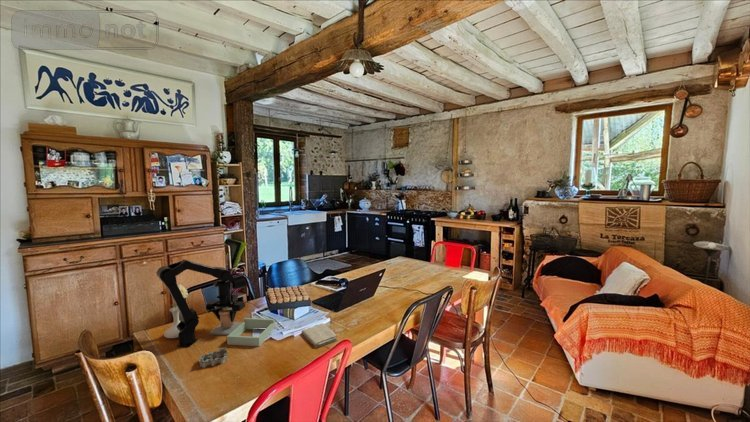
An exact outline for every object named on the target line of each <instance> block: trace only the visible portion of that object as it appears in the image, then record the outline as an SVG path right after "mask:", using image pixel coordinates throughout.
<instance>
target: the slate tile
mask: <svg viewBox="0 0 750 422" xmlns="http://www.w3.org/2000/svg"><path fill="white" fill-rule="evenodd" d="M233 322H234V324H233V325H232V326H230V327H227V328H222V327H221V323H220V324H219V325H217V326H216V327H214V328H213V329H212V330H211V331H209V335H211V336H212V335H214V336H215V335H216V336H228V335H229V334H230V333H232V332H233V331H234V330H235V329H236V328H237V327H239V326H240V325H241V324H242V323H243V322H244V321H242V322H240V321H233Z"/></svg>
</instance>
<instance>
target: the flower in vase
mask: <svg viewBox="0 0 750 422" xmlns="http://www.w3.org/2000/svg"><path fill="white" fill-rule="evenodd" d="M177 285H178V287H179V289H180V291H181V293H182V295H183V297H184V299H186V298H188V296H189V293H188V290H187V289H186V288H185V286H184V285H182V284H177ZM171 306H173V307H171V308H170V309H168V310H169V312H170V313H171V314H172V317H173V322H172V325H170V326H169V327H168V328H167V329H166V330H165V332H164V333H163V336H164V337H165V338H166V339H177V338H179V335H178V334H179V332H180V331H179V330H178V329H177V325H178V324H179V323H180V321H181V320H180V311H179V309H178V307H177V305H176V303H172V304H171Z"/></svg>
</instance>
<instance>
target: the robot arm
mask: <svg viewBox="0 0 750 422" xmlns="http://www.w3.org/2000/svg"><path fill="white" fill-rule="evenodd" d="M187 270H189V271H192V272H197V273H200V274H206V275H209V276H212V277H214V278H216V279H217V280H216V281H214V282H213V284H212V285H213V286H214V287H217V292H218V293H217V294H218V295H216V299H218V300H211V301H209V302H208V303H206V304H205V310H206V311H210V312H212V313H213V314H214V315H215V317H216V318H217V319H218V321H219V322H220V315H219V312H218V311H219V310H220V309H223V308H232V310H231V311H229V313H230V318H231V321H232V322H235V318H236V315H237V312H240V311H242V310H243V309H244V308H246V303H245V301H238V298H239V294H236V293H235V294H234V293H233V292H232V291H231V289H232V290H233V291H236V290H239V289H243V288H246V286H247V282H246V278H245V277H244V274H240V275H239V274H238V275H236V276H233V275H232V273H231V271H230V270H229V269H228V268H225V267H224V266H223V267H222V266H221V267H220V266H209V265H205V264H202V263H197V262H194V261H190V260H188V259H186V258H185V259H181V260H179V261H178V262H177V261H176V262H173V263H171V264H169V265H164V266H160V267H159V268H158V269H157V271H156V276H157V277H158V279H160V281H161V282H162V283H163V284H164V285H165V287H166V288H167V290H168V292H169V293H170V295H171V298H172V300H173V301H174V304H176V305H175V306H176V307H178V309H179V319H180V320H179V321H180V323H179V324H178V325H177V329H178V330H179V331H180V332H179V334H178V335H179V337H178V344H176V347H183V348H189V347H191V346H192V345H193V344H195V343H196V342H197V341H199V339H198V338H196V334H195V333H196V331H195V330H196V327H198V325H199V323H200V317H199V316H198V314H197V310H195V308H193V307H191V308H190V307H189V305H188V303H187V301H186V298H184V297H183V295H182V293H181V291H180V289H179V287H178V285H179V284H178V283H177V281H178V280H177V276H179V275H180V274H182V273H184V271H187ZM219 280H220V281H219ZM235 301H236V302H235ZM234 302H235V303H234Z"/></svg>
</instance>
